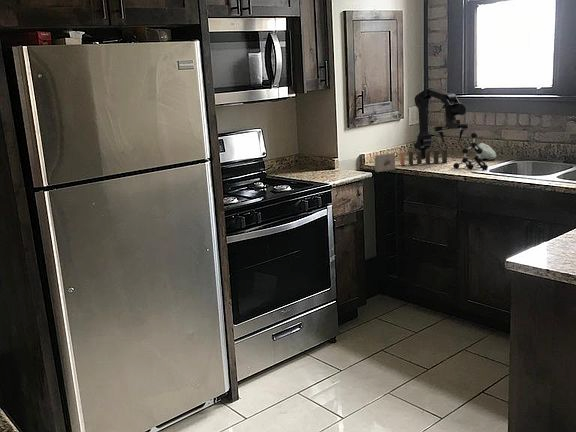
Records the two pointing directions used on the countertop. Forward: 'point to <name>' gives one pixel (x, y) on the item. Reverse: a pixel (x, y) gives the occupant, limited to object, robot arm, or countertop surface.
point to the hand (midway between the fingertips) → (451, 142)
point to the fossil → (384, 162)
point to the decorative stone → (487, 152)
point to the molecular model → (477, 157)
